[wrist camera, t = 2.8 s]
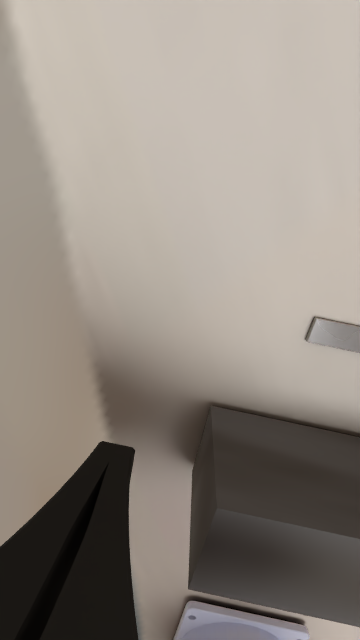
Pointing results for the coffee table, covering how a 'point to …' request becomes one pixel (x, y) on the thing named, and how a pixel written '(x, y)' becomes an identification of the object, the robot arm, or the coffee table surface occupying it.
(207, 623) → the robot arm
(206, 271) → the coffee table surface
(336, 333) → the rail track
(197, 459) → the cart
